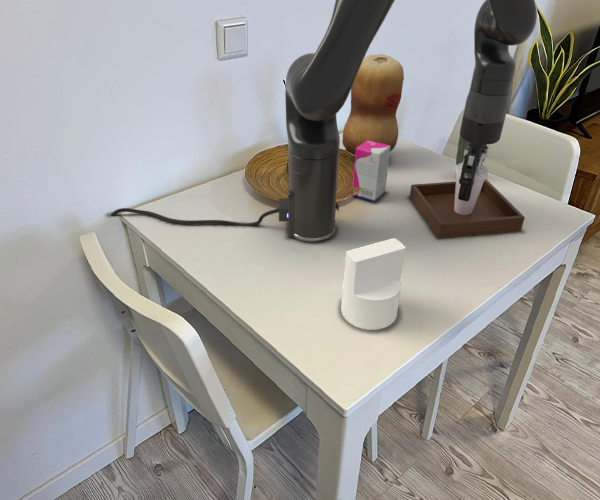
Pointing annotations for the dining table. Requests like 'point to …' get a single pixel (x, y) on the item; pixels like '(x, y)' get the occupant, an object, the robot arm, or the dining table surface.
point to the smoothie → (468, 206)
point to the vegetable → (461, 150)
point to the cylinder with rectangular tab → (372, 284)
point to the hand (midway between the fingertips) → (467, 190)
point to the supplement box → (371, 170)
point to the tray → (483, 220)
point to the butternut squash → (374, 103)
